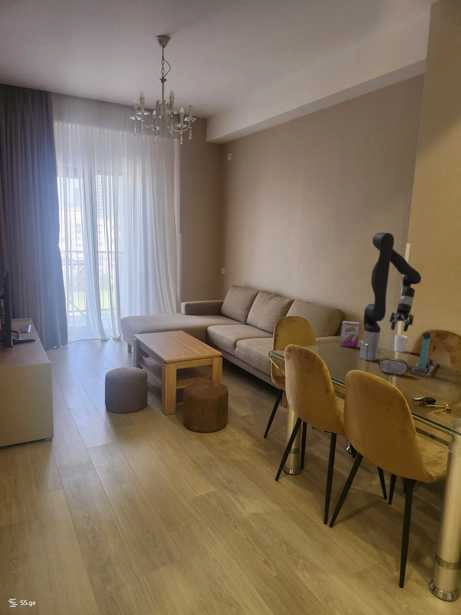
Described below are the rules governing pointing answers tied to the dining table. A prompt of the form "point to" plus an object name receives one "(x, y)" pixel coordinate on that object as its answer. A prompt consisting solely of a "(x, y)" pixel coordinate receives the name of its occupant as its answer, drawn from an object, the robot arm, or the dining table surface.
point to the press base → (432, 367)
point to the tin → (393, 366)
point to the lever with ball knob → (424, 354)
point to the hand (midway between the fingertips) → (398, 330)
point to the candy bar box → (349, 334)
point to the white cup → (400, 343)
